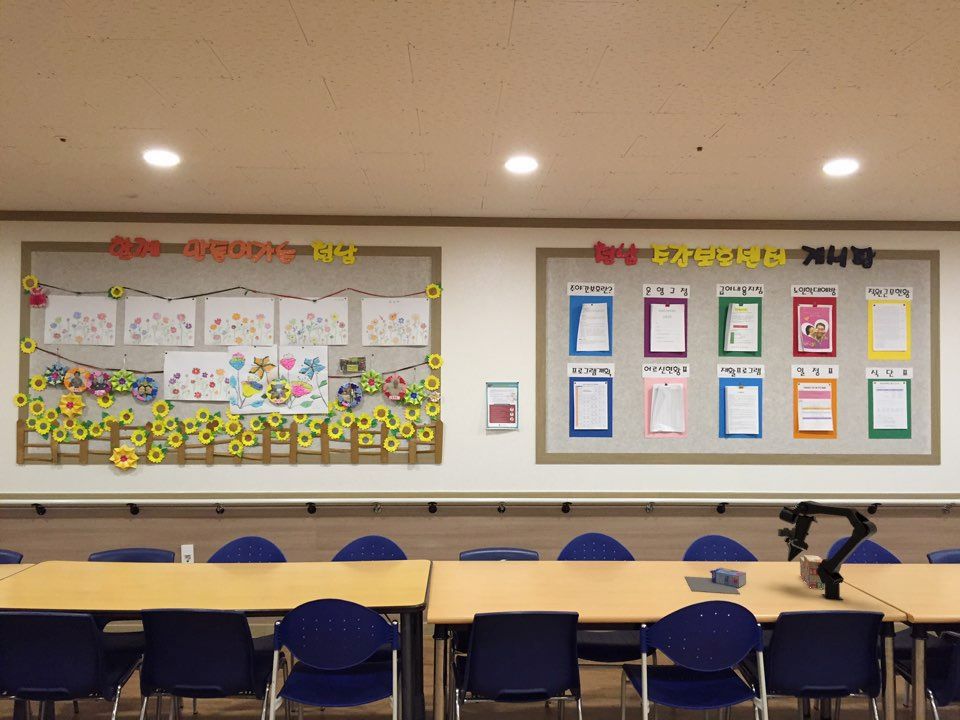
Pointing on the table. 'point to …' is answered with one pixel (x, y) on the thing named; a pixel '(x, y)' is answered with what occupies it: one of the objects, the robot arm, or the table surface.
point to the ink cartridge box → (728, 577)
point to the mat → (709, 586)
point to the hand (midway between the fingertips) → (788, 561)
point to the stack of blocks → (811, 571)
